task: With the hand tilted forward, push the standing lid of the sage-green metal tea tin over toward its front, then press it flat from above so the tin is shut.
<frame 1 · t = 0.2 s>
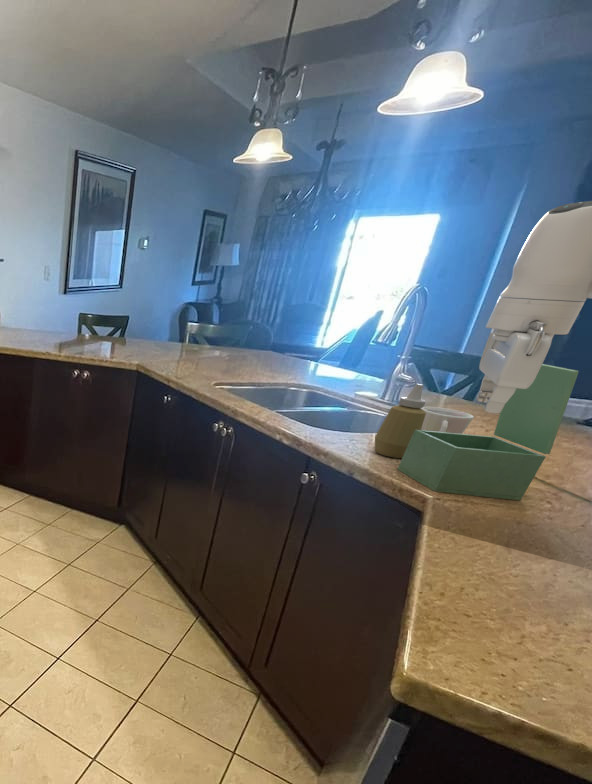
hand: (486, 406, 81), 22 cm above the countertop, tool pointing down, fingers open, 8 cm apart
squeeze bottle: (388, 455, 124), on the countertop
tea tin: (454, 484, 107), on the countertop
mug: (429, 450, 129), on the countertop
tin lid: (532, 405, 99), point 18 cm above the countertop, hinge at 80.0°
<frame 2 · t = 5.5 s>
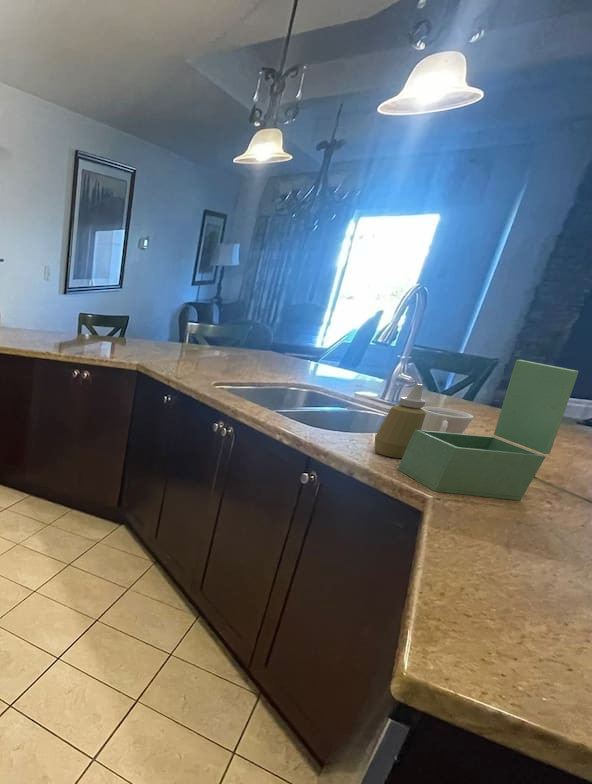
nothing on the countertop moved.
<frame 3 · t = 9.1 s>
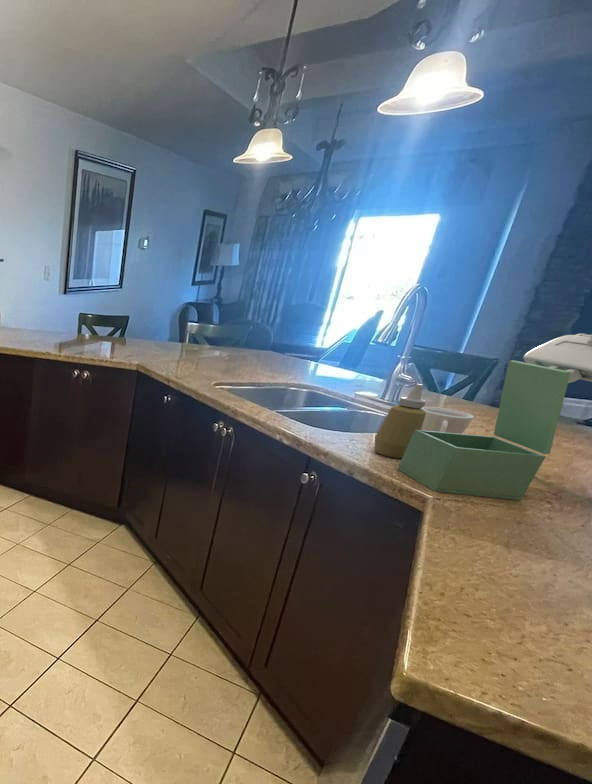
hand: (538, 386, 97), 22 cm above the countertop, tool tilted 45°, fingers closed, pressing on tin lid
tin lid: (528, 406, 99), point 18 cm above the countertop, hinge at 75.8°, touching gripper
everything else where it was.
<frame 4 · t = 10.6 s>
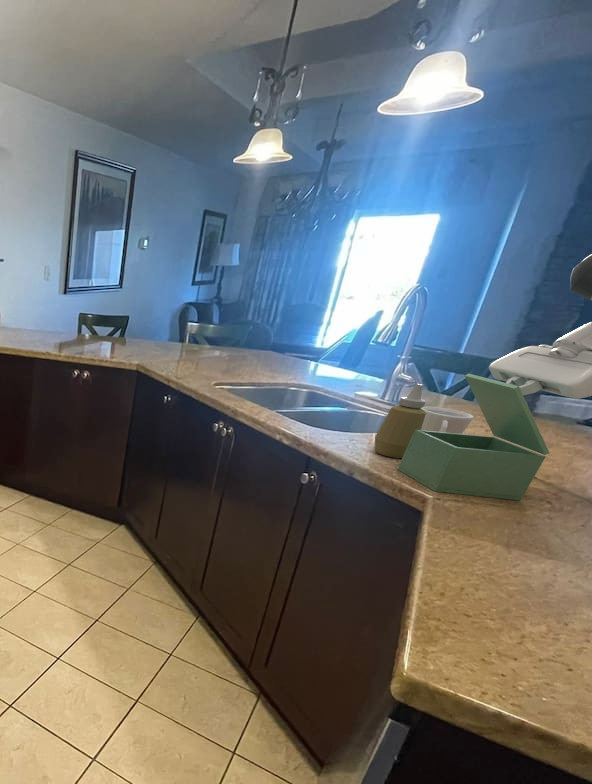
hand: (500, 396, 99), 20 cm above the countertop, tool tilted 45°, fingers closed, pressing on tin lid
tin lid: (505, 412, 100), point 16 cm above the countertop, hinge at 49.1°, touching gripper
everything else where it was.
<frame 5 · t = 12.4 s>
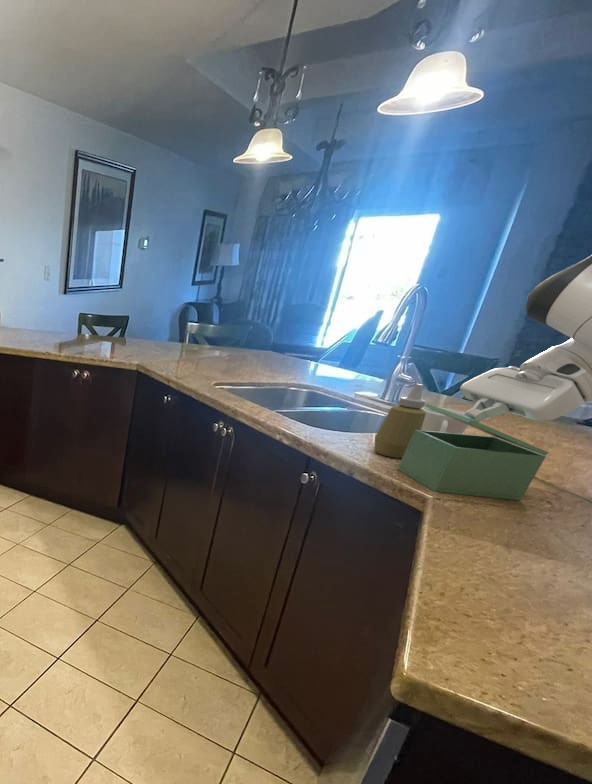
hand: (470, 417, 102), 15 cm above the countertop, tool tilted 45°, fingers closed, pressing on tin lid
tin lid: (483, 428, 102), point 13 cm above the countertop, hinge at 18.7°, touching gripper
everything else where it was.
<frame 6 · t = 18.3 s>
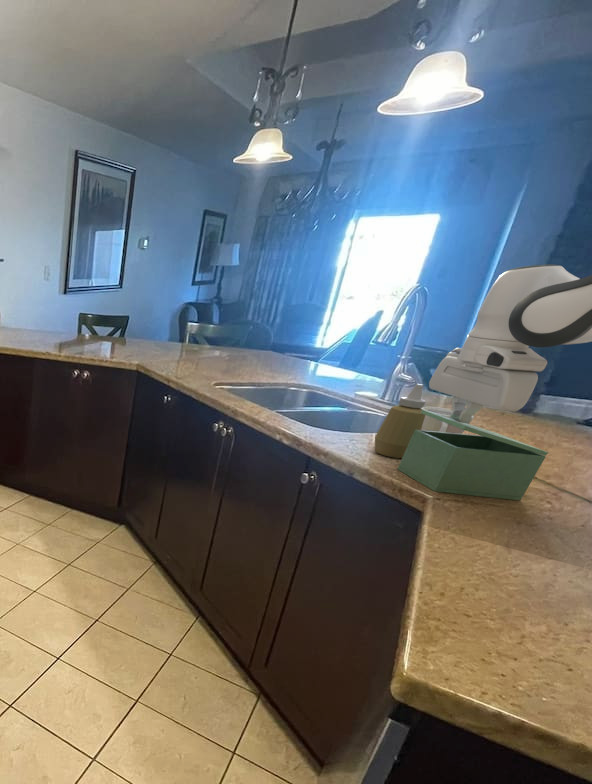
hand: (458, 420, 102), 14 cm above the countertop, tool pointing down, fingers closed
tin lid: (480, 431, 102), point 12 cm above the countertop, hinge at 13.4°, touching gripper
everything else where it was.
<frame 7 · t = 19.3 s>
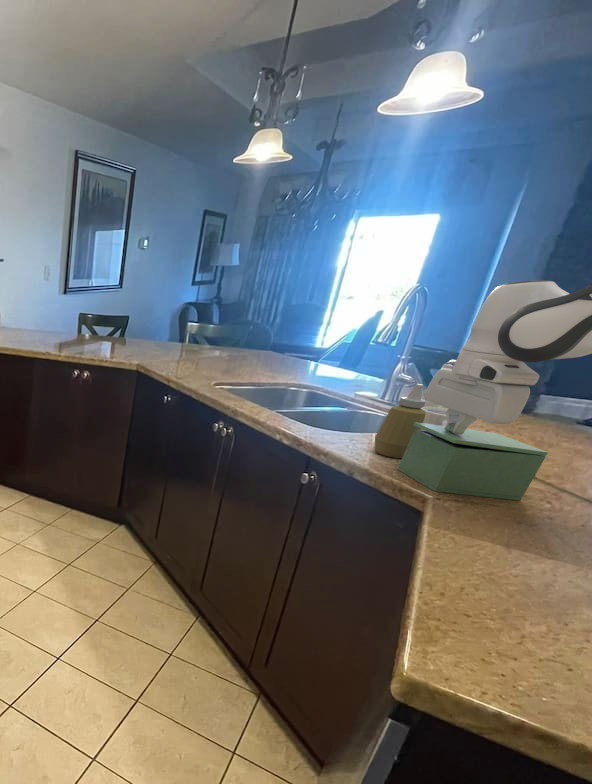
hand: (452, 432, 103), 11 cm above the countertop, tool pointing down, fingers closed, pressing on tin lid
tin lid: (476, 437, 103), point 11 cm above the countertop, hinge at 3.0°, touching gripper
everything else where it was.
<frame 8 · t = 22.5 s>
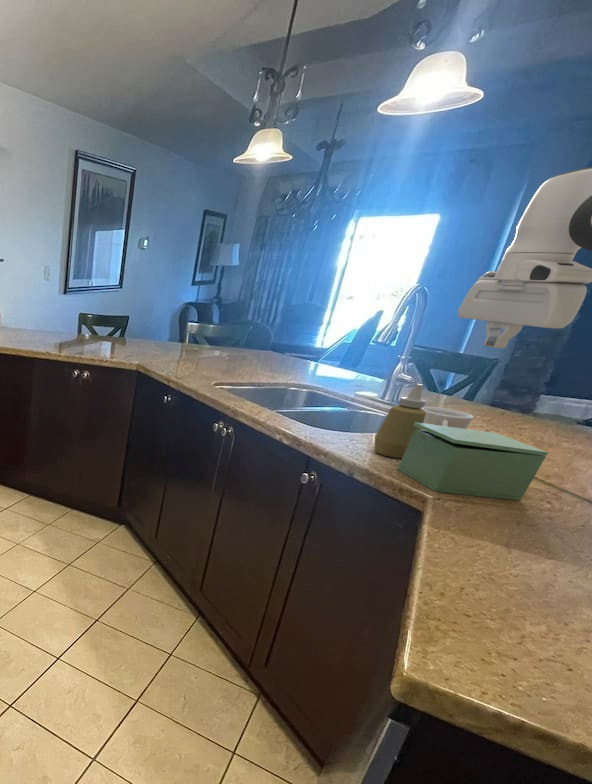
hand: (493, 347, 96), 29 cm above the countertop, tool pointing down, fingers closed
tin lid: (476, 437, 103), point 11 cm above the countertop, hinge at 3.0°
everything else where it was.
at the end: tin lid at +3° (first picture: +80°); squeeze bottle moved 0.2 cm from its start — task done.
